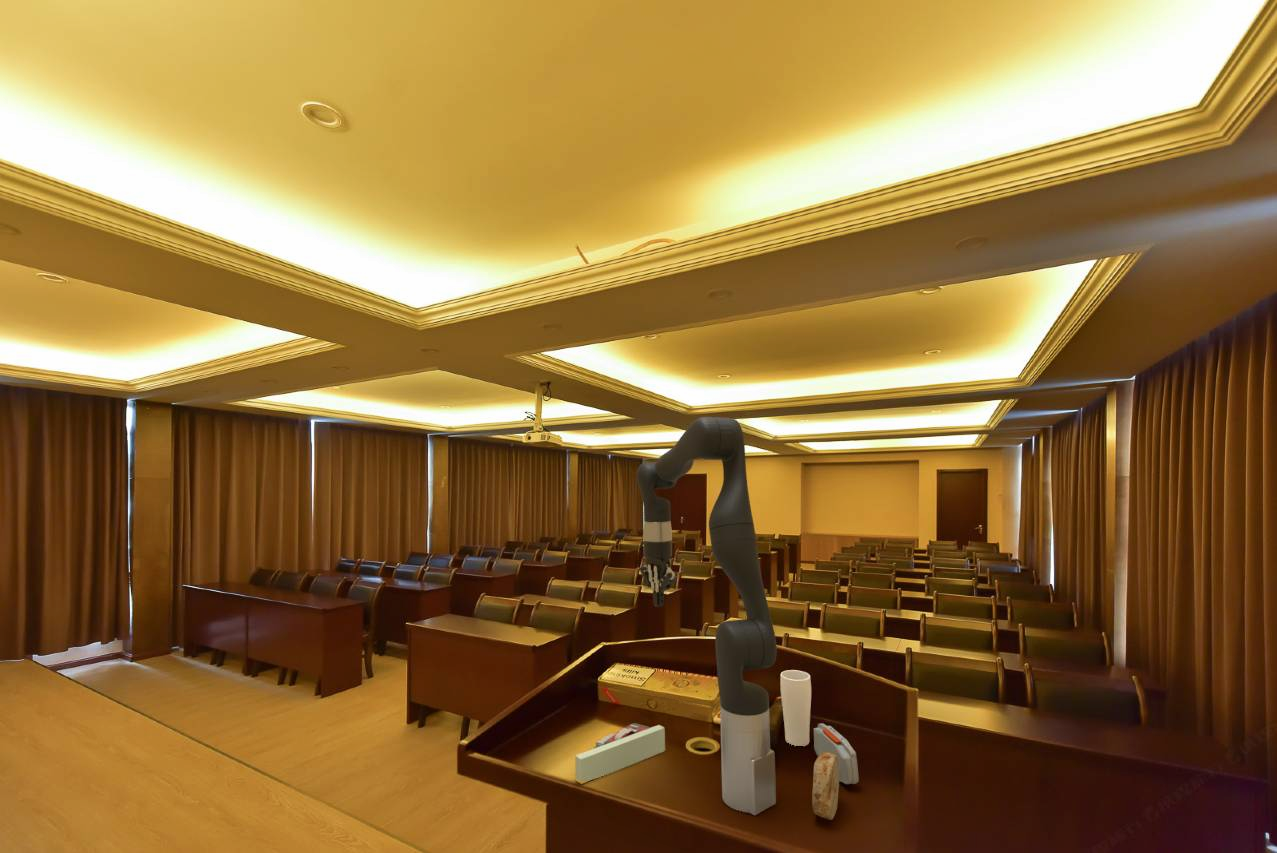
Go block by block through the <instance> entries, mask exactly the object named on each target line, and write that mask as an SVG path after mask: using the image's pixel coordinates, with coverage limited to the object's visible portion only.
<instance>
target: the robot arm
mask: <svg viewBox="0 0 1277 853" xmlns="http://www.w3.org/2000/svg"><path fill="white" fill-rule="evenodd" d="M697 459H698V460H699V459H703V460H711V461H712V460H713V461H714V460H717V461H718V460H719V461H721V463H722V468H723V469H722V470H723V472H722V473H723V477H722V478H723V479H722V480H723V482H722V484H721V490H720V492H719V494H718V496H717V498H716V500H715V502H714V504H713V507H712V510H711V512H710V515H709V518H708V530H709V537H710V539H709V540H710V545H711V546H710V547H711V551H712V555H713V556H714V559H715V560H716V562H717V564H718V565H719V567H720V568H721V570H722V571H723V572H724V573H725V575H726V576H727V577H728V579H729V580H730V581H731V582H732V584H733V586H735V588H736V590H737V591H738V594H739V595H740V598H741V600H742V603H743V606H744V610H745V614H746V616H745V617H746V619H745V618H744V619H735V620H734V619H732V620H727V621H725V620H724V621H721V622H720V623H719V624H718V625H717V628H716V632H715V639H714V640H715V655H716V657H715V658H716V671H717V685H718V692H719V702H720V704H719V705H720V709H719V710H720V712H719V713H720V749H721V750H720V751H721V754H720V755H721V761H720V762H721V791H722V793H721V795H722V797H721V798H722V801H723V803H724V804H726V805H727V806H728V807H730V808H731V809H733V810H736V811H738V810H739V811H738V812H741V811H742V812H741V813H748V814H751V815H753V816H756V815H758V814H760V813H761V812H763V811H765V810H767V809H768V808H771V807H773V806H774V805H776V804H777V793H776V792H777V790H776V757H775V756H776V755H775V751H774V750H773V749H771V737H770V736H771V735H770V732H771V731H770V730H771V729H770V728H771V727H770V698H769V693H768V691H767V690H766V689H765V688H764V687H763V686H761V685H759V684H757V683H753V682H750V681H747V680H744V676H743V672H746V671H752V670H760V669H768V668H770V667H772V666H773V665H774V664H775V662H776V659H777V652H778V651H777V640H776V633H775V629H774V625H773V621H772V616H771V612H770V608H769V605H768V600H767V597H766V591H765V587H764V583H763V582H764V581H763V577H762V571H761V565H760V557H759V551H758V542H757V536H756V529H755V523H754V519H753V518H754V517H753V514H752V509H751V508H752V507H751V502H750V495H749V488H748V479H747V464H746V462H747V461H746V448H745V439H744V432H743V428H742V426H741V424H740V423H739V421H738V420H737V419H735V418H731V417H719V416H718V417H717V416H716V417H714V416H702V417H698V418H697V419H695V420H694V421H693V422H691V424H690V425H689V426H688V427H687V428H686V430H685V431H684V433H683V434H682V435H681V437H680V438H679V439H678V441H677V442H676V443H675V445H673V447H672V448H671V449H669V450H668V451H666V452H665V453H663V454H662V455H661V456H659V458H657V459H656V460H657V461H655V462H642V463H641V464H640V465H639V466H638V468H637V471H636V482H637V485H638V488H639V491H640V495H641V498H642V499H641V500H642V504H643V530H642V532H643V533H642V538H643V540H642V541H643V543H642V545H643V548H642V549H643V557H644V558H646V560H645V564H644V565H643V566H642V567H640V568H639V571H640V573H641V575H642V578H643V580H644V582H645V585H646V587H647V588H648V589H649V588H650V589H651V591H652V602H653V606H654V607H657V608H660V607H663V606H664V605H665V591H668V590H670V589H671V587H672V585H673V583H674V582H675V580H676V579H677V576H678V572H677V571H673V570H672V565H671V562H670V559H671V557H672V556H673V535H672V534H673V532H672V531H673V530H672V523H671V522H672V521H671V520H672V519H671V518H672V517H671V515H672V513H671V501H670V500H669V499H667V498H663V497H658V496H657V495H656V494H655V491H654V490H667V489H671V488H674V487H675V485H676V484H677V482H678V480H679V479H680V478H681V477H683V476H685V475H686V474H687V473H688V472H690V470H691V469H692V468H693V466H694V465H693V464H694V461H695V460H697Z"/></svg>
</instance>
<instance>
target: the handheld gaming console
mask: <svg viewBox="0 0 1277 853" xmlns="http://www.w3.org/2000/svg"><path fill="white" fill-rule="evenodd" d="M813 742H814V744H813V748H814V751H815V753H816V755H817V758H818V757H819V756H820V754H821V753H825V752H826V753H832V754H835V755H836V756H837V759H838V776H839V783H843V784H844V785H850V784H852V785H854V784H858V783H859V780H860V778H859V770H858V769H859V768H858V759H857V752H856V751H855V750H854V748H853V747H852V746H851V744H850V743H849V741H848V740H847V738H846V737H844V736H843V735H842V734H840V733H839V732H838V731H837V730H836V729H835V728H834V727H832V726H831V725H826V724H824V723H823V722H822V723H818V724H817V727H815V728H814V727H813Z"/></svg>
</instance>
